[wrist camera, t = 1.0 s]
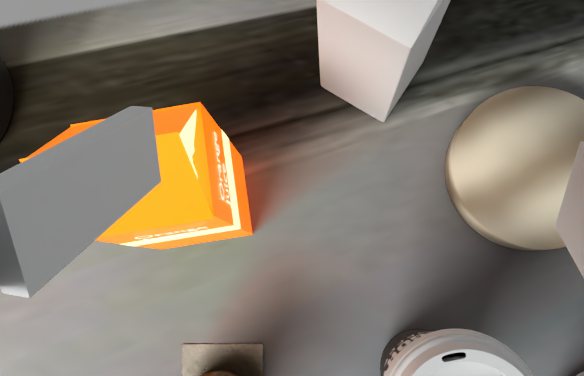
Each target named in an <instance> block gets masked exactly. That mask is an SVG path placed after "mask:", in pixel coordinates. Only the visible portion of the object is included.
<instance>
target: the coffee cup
mask: <svg viewBox="0 0 584 376" xmlns="http://www.w3.org/2000/svg"><path fill="white" fill-rule="evenodd" d="M380 371H381V376H534V375H533V374H532V372H531V371H530V369H529V368H528V367H527V365H526V364H525V363H524V362H523V360H522V359H521V358H520V357H519V356H518V355H517V354H516V353H515V352H514V351H512V350H511V349H510V348H509V347H507V346H506V345H505V344H503V343H502V342H500V341H498V340H497V339H495V338H493V337H491V336H488V335H486V334H483V333H480V332H477V331H473V330H467V329H443V330H438V331H434V332H432V331H427V330H420V329H413V330H408V331H404V332H402V333H400V334H398V335H396V336H395V337H394V338H393V339H392V340H391V341H390V342H389V343H388V344H387V346H386V347H385V349H384V351H383V354H382V357H381V363H380Z"/></svg>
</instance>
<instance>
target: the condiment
mask: <svg viewBox="0 0 584 376" xmlns="http://www.w3.org/2000/svg"><path fill="white" fill-rule="evenodd" d="M206 366H208V368H207V369H205V367H206ZM202 371H205V372H204V373H202ZM182 376H263V344H182Z"/></svg>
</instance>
